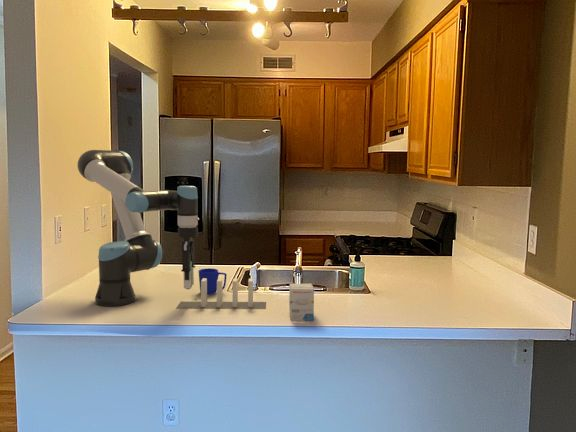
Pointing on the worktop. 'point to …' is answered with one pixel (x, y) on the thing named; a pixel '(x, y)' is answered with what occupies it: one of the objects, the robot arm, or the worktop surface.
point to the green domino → (191, 274)
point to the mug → (211, 279)
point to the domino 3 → (235, 292)
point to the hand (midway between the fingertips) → (188, 286)
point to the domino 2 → (219, 292)
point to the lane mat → (224, 306)
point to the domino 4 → (250, 293)
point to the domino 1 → (204, 292)
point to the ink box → (301, 302)
